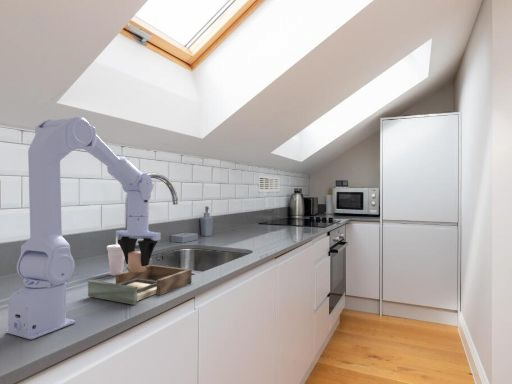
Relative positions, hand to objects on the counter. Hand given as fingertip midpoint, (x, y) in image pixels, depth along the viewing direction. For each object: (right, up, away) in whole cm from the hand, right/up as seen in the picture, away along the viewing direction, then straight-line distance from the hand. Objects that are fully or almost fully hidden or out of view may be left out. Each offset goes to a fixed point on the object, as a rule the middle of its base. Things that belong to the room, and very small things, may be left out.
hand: (137, 264), depth 95 cm
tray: (-1, -7, -2) cm, 8 cm away
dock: (+3, -8, +6) cm, 10 cm away
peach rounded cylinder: (0, -2, 0) cm, 2 cm away
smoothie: (-14, -8, +20) cm, 26 cm away
